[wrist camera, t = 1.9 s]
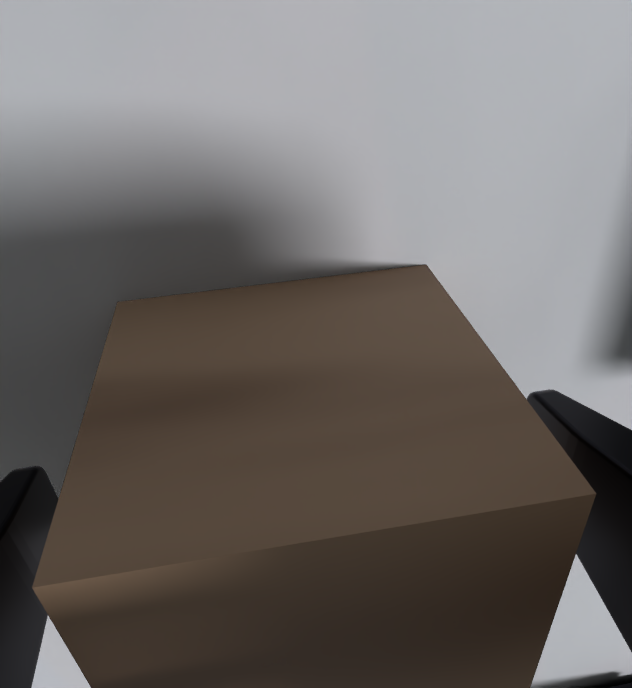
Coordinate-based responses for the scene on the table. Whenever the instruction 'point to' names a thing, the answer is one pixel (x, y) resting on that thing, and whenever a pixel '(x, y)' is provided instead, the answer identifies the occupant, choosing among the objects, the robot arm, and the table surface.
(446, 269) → the table surface
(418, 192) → the table surface
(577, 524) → the walnut cube
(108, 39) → the table surface
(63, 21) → the table surface
